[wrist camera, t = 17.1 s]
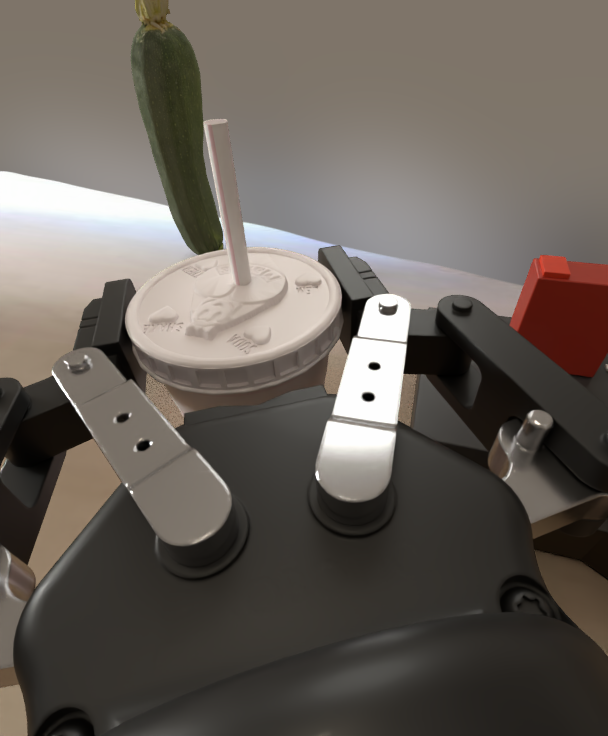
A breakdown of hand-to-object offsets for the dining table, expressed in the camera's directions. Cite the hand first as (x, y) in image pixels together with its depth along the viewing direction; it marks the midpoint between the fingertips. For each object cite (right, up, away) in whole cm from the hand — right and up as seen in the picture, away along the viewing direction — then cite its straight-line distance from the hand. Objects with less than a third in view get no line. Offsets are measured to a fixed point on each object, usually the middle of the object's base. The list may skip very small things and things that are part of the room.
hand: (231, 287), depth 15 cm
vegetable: (-6, +7, +22) cm, 24 cm away
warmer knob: (+15, -2, +6) cm, 16 cm away
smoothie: (+1, -8, +4) cm, 9 cm away
